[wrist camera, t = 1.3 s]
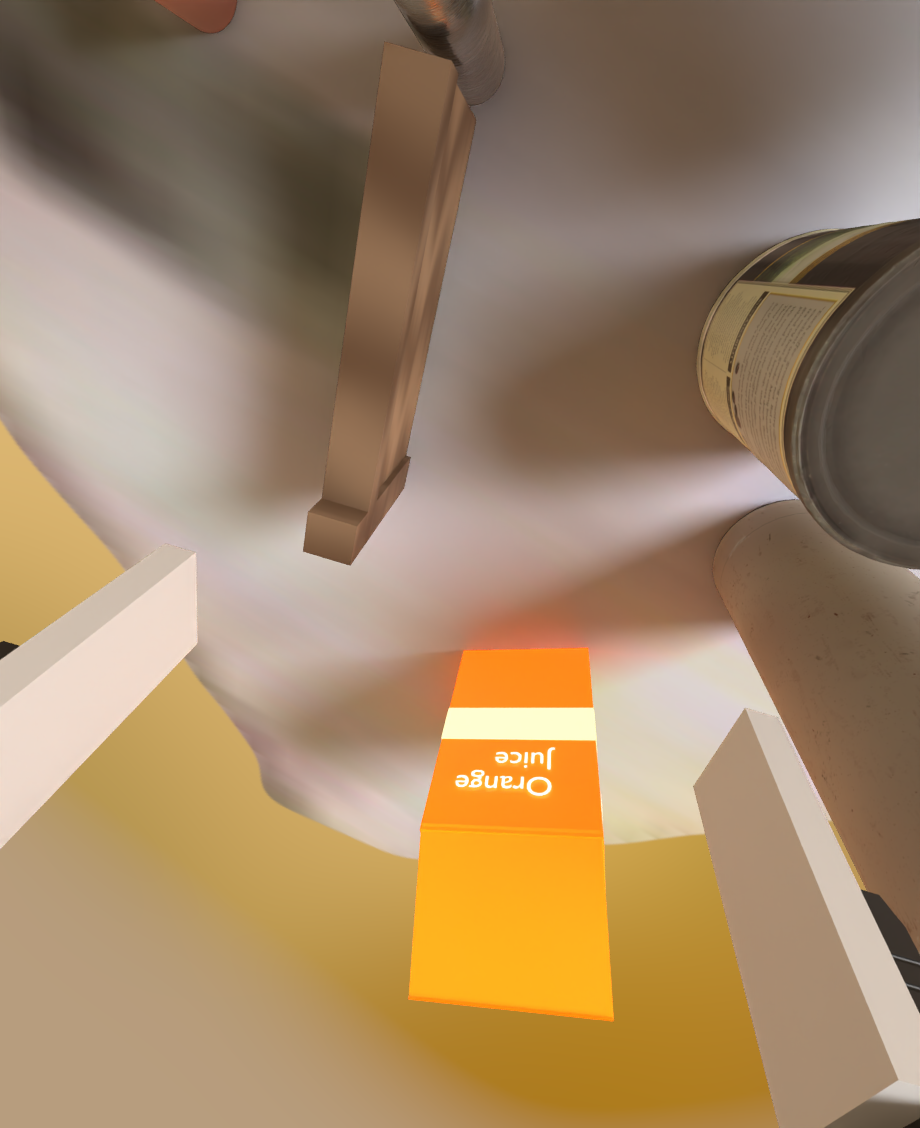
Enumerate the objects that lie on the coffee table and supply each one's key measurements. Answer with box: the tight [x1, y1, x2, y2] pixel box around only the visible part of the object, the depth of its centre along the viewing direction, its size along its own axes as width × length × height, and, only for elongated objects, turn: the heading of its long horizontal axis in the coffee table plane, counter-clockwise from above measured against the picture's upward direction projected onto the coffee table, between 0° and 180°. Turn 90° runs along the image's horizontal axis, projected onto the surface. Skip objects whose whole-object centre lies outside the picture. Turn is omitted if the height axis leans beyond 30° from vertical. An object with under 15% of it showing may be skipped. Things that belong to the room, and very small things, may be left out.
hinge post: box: [394, 0, 505, 105], centre depth 20 cm, size 3×3×12 cm
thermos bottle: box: [713, 500, 920, 954], centre depth 21 cm, size 8×8×28 cm
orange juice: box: [408, 648, 614, 1021], centre depth 32 cm, size 8×9×20 cm
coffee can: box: [696, 218, 920, 569], centre depth 22 cm, size 10×10×14 cm
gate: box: [303, 42, 476, 565], centre depth 25 cm, size 18×2×10 cm, turn 166°
